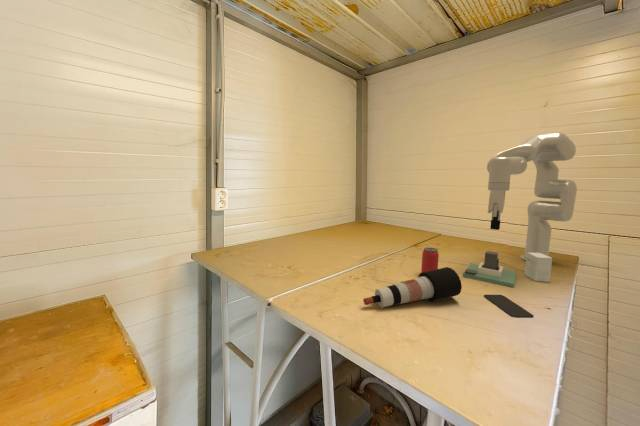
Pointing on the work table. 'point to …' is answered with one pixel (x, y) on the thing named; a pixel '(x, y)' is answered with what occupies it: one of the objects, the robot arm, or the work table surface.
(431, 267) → the beer can
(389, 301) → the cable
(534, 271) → the small box
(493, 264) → the plug
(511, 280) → the circuit board
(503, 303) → the phone
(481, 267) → the header socket
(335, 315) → the work table surface
